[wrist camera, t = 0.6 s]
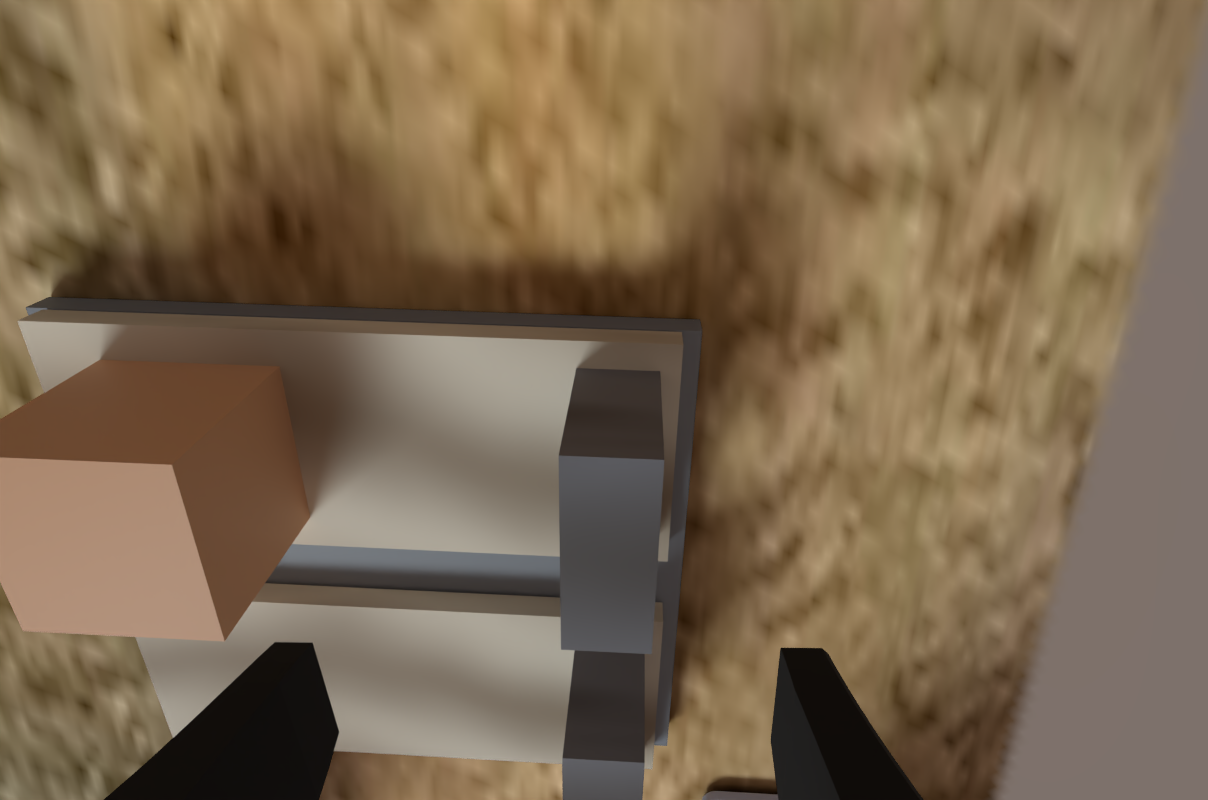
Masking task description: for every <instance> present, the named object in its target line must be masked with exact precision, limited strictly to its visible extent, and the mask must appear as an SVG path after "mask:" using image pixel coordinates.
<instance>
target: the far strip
mask: <svg viewBox="0 0 1208 800" xmlns="http://www.w3.org/2000/svg"><path fill="white" fill-rule="evenodd" d="M662 631H663V603H661V602H655V612H654V627H653V643H652V654H637V653H617V652H598V651H578V650H561V614H560V598H558V597H538V596H517V595H497V594H476V593H456V592H435V591H415V590H394V589H374V588H353V587H333V586H312V585H292V584H271V583H265V584H264V585H263V587H262V588H261V590H260V591H259V593H258V594H257V595H256V597H255V598H254V600H253V601H252V603H251V604H250V606H249V607H248V608H247V610H246V611H245V613H244V614H243V616H242V617H241V619H240V620H239V622H238V623H237V624H236V626H235V627H234V629H233V630H232V632H231V633H230V635H229V636H228V637H227V639H226V640H225V642H224V641H205V640H186V639H166V638H147V637H136V640H137V643H138V645H139V648H140V651H141V653H142V656H143V659H144V661H145V664H146V667H147V670H148V672H149V675H150V678H151V680H152V683H153V686H154V688H155V691H156V694H157V696H158V699H159V702H160V704H161V707H162V710H163V712H164V715H165V718H166V720H167V723H168V726H169V728H170V731H171V734H172V736H173V738H174V737H175V736H176V735H177V734H178V733H179V732H180V731H181V730H182V729H183V728H184V727H185V726H187V725H188V724H189V723H190V722H191V721H192V720H193V719H194V718H195V717H196V716H197V715H198V714H199V713H200V712H201V711H202V710H204V709H205V708H206V707H207V706H208V705H209V704H210V703H211V702H212V701H213V700H214V699H215V698H216V697H217V696H218V695H219V694H220V693H221V692H222V691H224V690H225V689H226V688H227V687H228V686H229V685H230V684H231V683H232V682H233V681H234V680H235V679H236V678H237V677H238V676H239V675H240V674H241V673H242V672H243V671H245V670H246V669H247V668H248V667H249V666H250V665H251V664H252V663H253V662H254V661H255V660H256V659H257V658H258V657H259V656H260V655H261V654H262V653H264V652H265V651H266V650H267V649H268V648H269V647H270V646H271V645H272V644H273V643H274V642H310V643H313V645H314V649H315V652H316V656H317V659H318V662H319V666H320V669H321V672H322V676H323V679H324V682H325V686H326V689H327V693H328V696H329V699H330V703H331V706H332V709H333V713H334V716H335V719H336V723H337V726H338V730H339V735H338V738H337V742H336V745H335V748H334V751H344V752H362V753H379V754H397V755H414V756H432V757H449V758H467V759H484V760H502V761H519V762H536V763H554V764H562V773H563V800H642V795H643V780H644V769H652V767H653V753H654V740H655V726H656V712H657V699H658V685H659V672H660V658H661V644H662Z"/></svg>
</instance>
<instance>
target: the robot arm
mask: <svg viewBox="0 0 1208 800" xmlns="http://www.w3.org/2000/svg"><path fill="white" fill-rule="evenodd" d="M338 735H339V730H338V726H337V723H336V719H335V716H334V713H333V709H332V706H331V703H330V699H329V696H328V693H327V689H326V686H325V682H324V679H323V676H322V672H321V669H320V666H319V662H318V659H317V656H316V652H315V649H314V645H313V643H310V642H274V643H273V644H272V645H271V646H270V647H269V648H268V649H267V650H266V651H265V652H264V653H262V654H261V655H260V656H259V657H258V658H257V659H256V660H255V661H254V662H253V663H252V664H251V665H250V666H249V667H248V668H247V669H246V670H245V671H243V672H242V673H241V674H240V675H239V676H238V677H237V678H236V679H235V680H234V681H233V682H232V683H231V684H230V685H229V686H228V687H227V688H226V689H225V690H224V691H222V692H221V693H220V694H219V695H218V696H217V697H216V698H215V699H214V700H213V701H212V702H211V703H210V704H209V705H208V706H207V707H206V708H205V709H204V710H202V711H201V712H200V713H199V714H198V715H197V716H196V717H195V718H194V719H193V720H192V721H191V722H190V723H189V724H188V725H187V726H185V727H184V728H183V729H182V730H181V731H180V732H179V733H178V734H177V735H176V736H175V737H174V738H173V739H171V740H170V741H169V742H168V743H167V744H166V745H165V746H164V747H163V748H162V749H161V750H160V751H158V752H157V753H156V754H155V755H154V756H153V757H152V758H151V759H150V760H149V761H148V762H147V763H145V764H144V765H143V766H142V767H141V768H140V769H139V770H137V771H136V772H135V773H134V774H133V775H132V776H131V777H129V778H128V779H127V780H126V781H125V782H124V783H122V784H121V785H120V786H119V787H118V788H117V789H116V790H114V791H113V792H112V793H111V794H110V795H109V796H107V797H106V798H105V799H104V800H319V798H320V794H321V791H322V788H323V785H324V782H325V779H326V776H327V772H328V769H329V766H330V762H331V759H332V755H333V752H334V748H335V745H336V742H337V738H338ZM771 746H772V754H773V762H774V770H775V778H776V785H777V793H778V794H762V793H745V792H728V791H711V792H708V793H707V794H705V795H704V796H703V798H702V800H923V798H922V797H921V796H920V794H919V793H918V792H917V790H916V789H915V787H914V786H913V785H912V783H911V782H910V780H909V779H908V778H907V776H906V775H905V773H904V772H903V770H902V769H901V768H900V766H899V765H898V763H897V762H896V761H895V759H894V758H893V756H892V755H891V753H890V752H889V751H888V749H887V748H886V746H885V745H884V743H883V742H882V740H881V739H880V737H879V736H878V734H877V733H876V731H875V730H874V728H873V727H872V725H871V724H870V722H869V721H868V719H867V717H866V716H865V714H864V713H863V711H862V710H861V708H860V707H859V705H858V703H857V702H856V700H855V699H854V697H853V695H852V694H851V692H850V690H849V689H848V687H847V685H846V684H845V682H844V680H843V679H842V677H841V675H840V674H839V672H838V670H837V669H836V667H835V665H834V663H833V661H832V660H831V658H830V656H829V654H828V653H827V652H825V651H824V650H823V649H822V648H781V650H780V659H779V668H778V677H777V687H776V696H775V705H774V715H773V724H772V733H771Z"/></svg>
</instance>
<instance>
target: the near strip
mask: <svg viewBox="0 0 1208 800" xmlns="http://www.w3.org/2000/svg"><path fill="white" fill-rule="evenodd" d="M18 324H19V327H20V329H21V332H22V335H23V337H24V340H25V343H26V346H27V348H28V351H29V354H30V356H31V359H32V362H33V364H34V367H35V370H36V372H37V375H38V378H39V380H40V383H41V386H42V388H43V391H44V393H45V392H47V391H48V390H50V389H52V388H53V387H55V386H57V385H58V384H60V383H62V382H63V381H65V380H67V379H68V378H70V377H72V376H73V375H75V374H77V373H78V372H80V371H82V370H83V369H85V368H87V367H88V366H90V365H92V364H93V363H95V362H97V361H98V360H122V361H149V362H176V363H202V364H229V365H255V366H280V371H281V376H282V381H283V386H284V391H285V395H286V400H287V405H288V410H289V415H290V420H291V425H292V430H293V435H294V440H295V444H296V449H297V454H298V459H299V464H300V469H301V474H302V479H303V484H304V489H305V493H306V498H307V503H308V508H309V513H310V519H309V520H308V521H307V523H306V524H305V526H304V527H303V529H302V530H301V532H300V533H299V535H298V536H297V537H296V539H295V540H294V542H293V543H292V544H300V545H322V546H343V547H364V548H386V549H407V550H429V551H450V552H471V553H493V554H514V555H536V556H557V557H560V614H561V650H578V651H598V652H617V653H637V654H652V643H653V627H654V612H655V597H656V582H657V566H658V561H664V562H668V549H669V535H670V521H671V508H672V494H673V481H674V467H675V453H676V440H677V426H678V412H679V399H680V385H681V371H682V358H683V337H682V332H668V331H640V330H611V329H583V328H554V327H526V326H497V325H469V324H440V323H412V322H383V321H355V320H326V319H298V318H269V317H241V316H213V315H184V314H156V313H127V312H99V311H70V310H40V311H38V312H35V313H33V314H31V315H29V316H27V317H25V318H22V319H20V320H18Z"/></svg>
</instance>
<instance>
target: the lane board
mask: <svg viewBox="0 0 1208 800" xmlns="http://www.w3.org/2000/svg"><path fill="white" fill-rule="evenodd" d="M26 310H27V312H28V315H31V314H33V313H35V312H38V311H40V310H70V311H99V312H127V313H156V314H184V315H213V316H241V317H269V318H298V319H326V320H355V321H383V322H412V323H440V324H469V325H497V326H526V327H554V328H583V329H611V330H640V331H668V332H682V337H683V358H682V371H681V385H680V399H679V412H678V426H677V440H676V453H675V467H674V481H673V494H672V508H671V521H670V535H669V549H668V562H664V561H658V566H657V582H656V597H655V602H661V603H663V631H662V644H661V658H660V672H659V685H658V699H657V712H656V726H655V740H654V745H662V746H667V739H668V727H669V715H670V704H671V692H672V680H673V668H674V657H675V645H676V633H677V622H678V610H679V598H680V586H681V575H682V563H683V551H684V539H685V528H686V516H687V504H688V493H689V481H690V469H691V457H692V446H693V434H694V422H695V411H696V399H697V387H698V375H699V364H700V352H701V340H702V327H701V322H700V320H698V319H669V318H640V317H611V316H582V315H553V314H524V313H495V312H466V311H437V310H408V309H379V308H350V307H321V306H292V305H263V304H234V303H205V302H175V301H146V300H117V299H88V298H59V297H48V298H46V299H44V300H41V301H39V302H37V303H35V304H32V305H30V306H28V307H26ZM265 583H271V584H292V585H312V586H333V587H353V588H374V589H394V590H415V591H435V592H456V593H476V594H497V595H517V596H538V597H558V598H560V557H557V556H536V555H514V554H493V553H471V552H450V551H429V550H407V549H386V548H364V547H343V546H322V545H300V544H292V545H291V546H290V548H289V549H288V550H287V552H286V553H285V555H284V556H283V558H282V559H281V561H280V562H279V564H278V565H277V566H276V568H275V569H274V571H273V572H272V574H271V575H270V577H269V578H268V579H267V581H266V582H265Z"/></svg>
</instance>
